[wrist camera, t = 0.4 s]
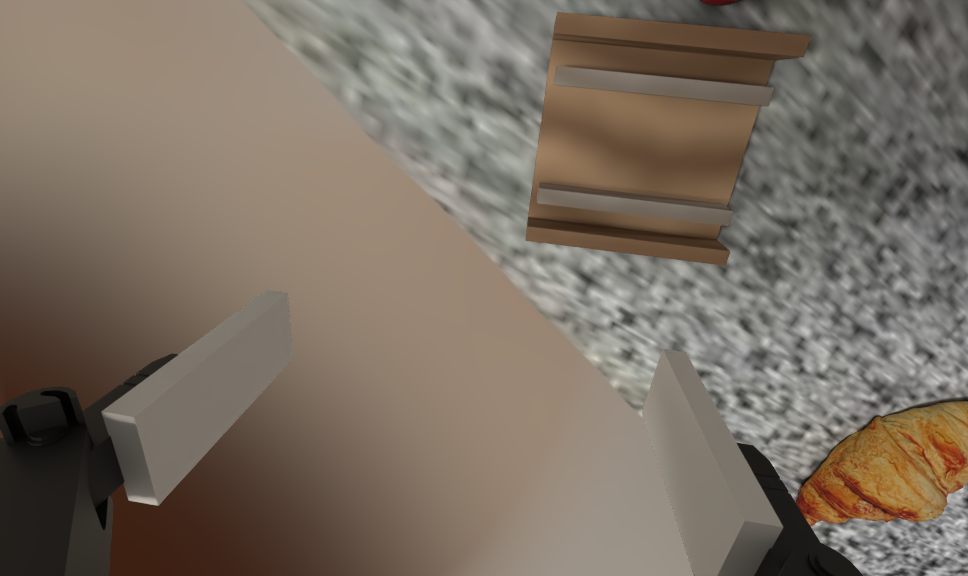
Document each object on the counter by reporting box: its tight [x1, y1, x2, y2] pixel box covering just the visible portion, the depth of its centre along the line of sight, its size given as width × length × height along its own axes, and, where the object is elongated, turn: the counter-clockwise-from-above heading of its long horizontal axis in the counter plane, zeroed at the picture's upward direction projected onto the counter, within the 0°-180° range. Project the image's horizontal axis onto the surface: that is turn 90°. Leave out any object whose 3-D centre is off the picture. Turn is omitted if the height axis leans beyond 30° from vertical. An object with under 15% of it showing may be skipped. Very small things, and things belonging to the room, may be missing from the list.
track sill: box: [526, 12, 811, 266], centre depth 34 cm, size 16×16×5 cm
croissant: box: [796, 401, 968, 526], centre depth 43 cm, size 21×10×8 cm, turn 139°
